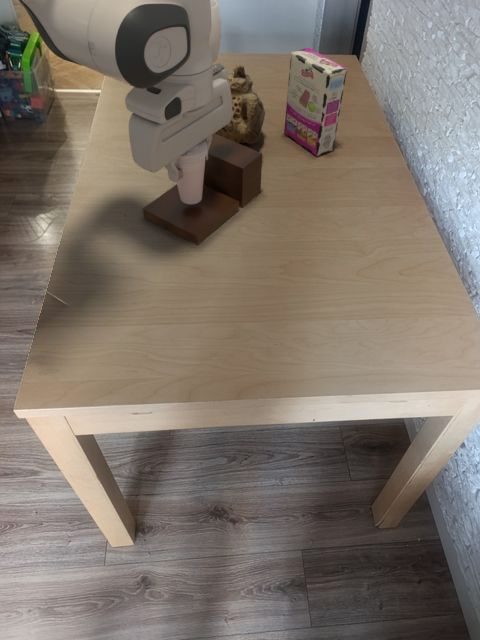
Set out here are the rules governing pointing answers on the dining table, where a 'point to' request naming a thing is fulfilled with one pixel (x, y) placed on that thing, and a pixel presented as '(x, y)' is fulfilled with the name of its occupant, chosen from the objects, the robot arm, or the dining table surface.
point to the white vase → (215, 31)
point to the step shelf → (211, 192)
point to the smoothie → (192, 173)
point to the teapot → (243, 109)
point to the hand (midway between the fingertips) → (188, 169)
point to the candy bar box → (314, 100)
